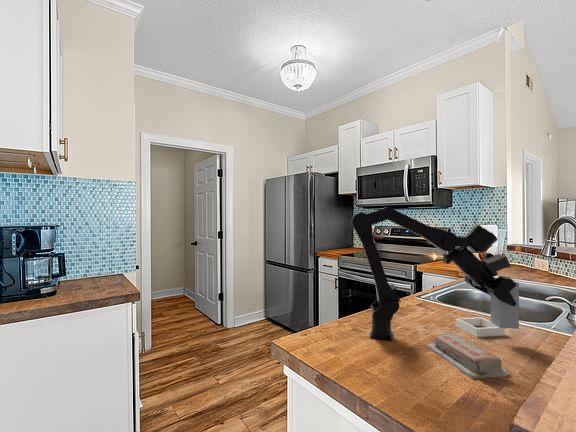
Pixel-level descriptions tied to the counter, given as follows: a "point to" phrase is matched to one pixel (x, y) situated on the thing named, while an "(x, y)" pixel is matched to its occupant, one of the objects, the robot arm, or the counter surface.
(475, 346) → the packaged product
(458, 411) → the counter surface
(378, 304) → the robot arm
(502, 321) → the slate block
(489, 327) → the tray
